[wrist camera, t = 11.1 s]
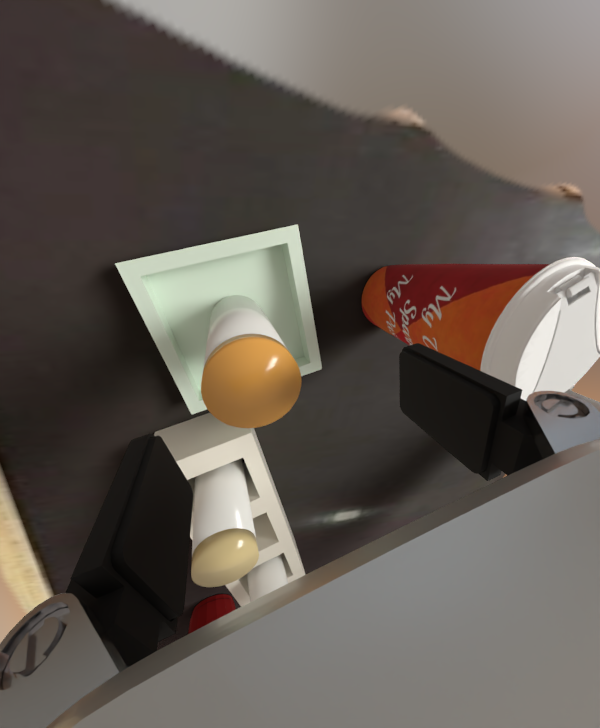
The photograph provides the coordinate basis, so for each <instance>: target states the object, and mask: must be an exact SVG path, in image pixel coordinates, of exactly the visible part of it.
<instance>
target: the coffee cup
mask: <svg viewBox="0 0 600 728" xmlns="http://www.w3.org/2000/svg"><path fill="white" fill-rule="evenodd" d="M361 304H362V310H363V313H364V315H365V316H366V318H367V319H368V320H369V321H370V322H372V323H373V324H374V325H376V326H378V327H379V328H381V329H383V330H384V331H386V332H388V333H389V334H391V335H393V336H394V337H396V338H398V339H400V340H401V341H403V342H405V343H407V344H408V345H413V344H416V343H419V344H422V345H424V346H426V347H428V348H431V349H433V350H435V351H437V352H439V353H442V354H444V355H446V356H448V357H451V358H453V359H455V360H457V361H459V362H462V363H464V364H466V365H468V366H471V367H473V368H475V369H477V370H479V371H482V372H484V373H486V374H488V375H491V376H493V377H495V378H497V379H499V380H502V381H504V382H506V383H508V384H511V385H513V386H515V387H517V388H519V389H522V394H521V399H523V400H525V401H526V400H527V397H528V396H529V395H530V394H532V393H533V392H538V391H557V392H563V393H564V392H566V391H567V390H568V389H570V388H571V387H572V386H573V385H574V384H576V383H577V382H578V381H579V380H580V379H581V378H582V377H583V376H584V375H585V373H586V372H587V371H588V370H589V369H590V368H591V366H592V365H593V364H594V363H595V361H596V360H597V359H598V358H599V357H600V268H597V267H595V265H594V264H592V263H591V262H589V261H587V260H586V259H583V258H579V257H570V258H564V259H561V260H558V261H556V262H554V263H552V264H418V265H390V266H386V267H383V268H381V269H379V270H377V271H376V272H375V273H374V274H373V275H372V276H371V277H370V278H369V280H368V281H367V283H366V285H365V287H364V290H363V293H362V299H361Z"/></svg>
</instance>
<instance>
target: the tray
mask: <svg viewBox="0 0 600 728" xmlns="http://www.w3.org/2000/svg"><path fill="white" fill-rule="evenodd" d="M115 265H116V267H117V269H118V271H119V273H120V275H121V277H122V279H123V281H124V283H125V285H126V287H127V289H128V291H129V293H130V295H131V297H132V298H133V300H134V302H135V304H136V306H137V308H138V310H139V312H140V314H141V316H142V318H143V320H144V322H145V324H146V326H147V328H148V330H149V332H150V334H151V336H152V338H153V340H154V342H155V344H156V346H157V348H158V350H159V352H160V354H161V355H162V357H163V359H164V361H165V363H166V365H167V367H168V369H169V371H170V373H171V375H172V377H173V379H174V381H175V383H176V385H177V387H178V389H179V391H180V393H181V395H182V397H183V399H184V401H185V403H186V405H187V407H188V409H189V410H190V412H191V414H195V413H198V412H201V411H204V410H206V409H207V408H206V406H205V404H204V401H203V399H202V394H201V382H202V375H203V367H204V360H205V353H206V345H207V338H208V331H209V324H210V316H211V312H212V310H213V308H214V307H215V305H216V304H217V303H218V302H219V301H220V300H222V299H223V298H225V297H228V296H232V295H242V296H246V297H249V298H250V299H252V300H254V301H255V302H256V303H257V304H258V305H259V306H260V308H261V309H262V311H263V312H264V314H265V315H266V317H267V318H268V320H269V321H270V323H271V324H272V326H273V327H274V329H275V331H276V332H277V334H278V335H279V337H280V338H281V340H282V341H283V343H284V344H285V346H286V347H287V349H288V350H289V352H290V354H291V355H292V357H293V358H294V360H295V361H296V363H297V365H298V367H299V369H300V373H301V376H303V375H306V374H309V373H312V372H315V371H318V370H321V369H322V365H321V359H320V353H319V347H318V341H317V335H316V329H315V323H314V317H313V311H312V306H311V300H310V294H309V288H308V282H307V276H306V270H305V264H304V258H303V252H302V246H301V240H300V235H299V229H298V225H293V226H288V227H284V228H279V229H274V230H270V231H265V232H260V233H255V234H251V235H246V236H241V237H237V238H232V239H227V240H223V241H218V242H213V243H209V244H204V245H199V246H195V247H190V248H185V249H181V250H176V251H171V252H167V253H162V254H157V255H153V256H148V257H143V258H138V259H134V260H129V261H124V262H120V263H115Z"/></svg>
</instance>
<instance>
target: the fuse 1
mask: <svg viewBox="0 0 600 728" xmlns="http://www.w3.org/2000/svg"><path fill="white" fill-rule="evenodd" d="M258 558H259V551H258V546H257V540H256V535H255V529H254V523H253V518H252V512H251V507H250V501H249V495H248V490H247V484H246V479H245V473H244V468H243V462H242V458H241V459H238V460H236V461H233V462H231V463H228V464H226V465H223V466H221V467H218V468H216V469H213V470H211V471H208V472H206V473H203V474H201V475H198V476H196V477H195V491H194V517H193V542H192V568H191V577H192V580H193V581H194V582H195V583H196V584H197V585H200V586H203V587H218V586H222V585H226V584H229V583H232V582H234V581H236V580H238V579H240V578H241V577H243V576H245V575H246V574H247V573H248V572H250V571H251V570H252V569H253V567H254V566H255V565H256V563H257V561H258Z"/></svg>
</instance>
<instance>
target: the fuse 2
mask: <svg viewBox="0 0 600 728" xmlns="http://www.w3.org/2000/svg"><path fill="white" fill-rule="evenodd" d="M247 580H248V588H249V595H250V602H252V601H254V600H256V599H258V598H260V597H262V596H264V595H266V594H268V593H270V592H272V591H274V590H276V589H278V588H280V587H282V586H284V585H286V584H288V580H287V576H286V572H285V568H284V564H283V560H282V556H281V554H280V555H278V556H276V557H274V558H272V559H270V560H268V561H266V562H264V563H262V564H260V565H258V566H256V567H254V568H253V569H252V570H251V571H250V572H248V573H247Z"/></svg>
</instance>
